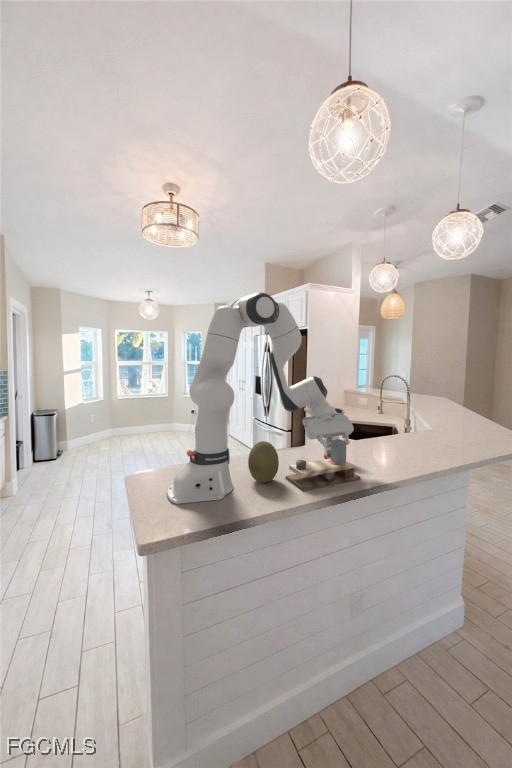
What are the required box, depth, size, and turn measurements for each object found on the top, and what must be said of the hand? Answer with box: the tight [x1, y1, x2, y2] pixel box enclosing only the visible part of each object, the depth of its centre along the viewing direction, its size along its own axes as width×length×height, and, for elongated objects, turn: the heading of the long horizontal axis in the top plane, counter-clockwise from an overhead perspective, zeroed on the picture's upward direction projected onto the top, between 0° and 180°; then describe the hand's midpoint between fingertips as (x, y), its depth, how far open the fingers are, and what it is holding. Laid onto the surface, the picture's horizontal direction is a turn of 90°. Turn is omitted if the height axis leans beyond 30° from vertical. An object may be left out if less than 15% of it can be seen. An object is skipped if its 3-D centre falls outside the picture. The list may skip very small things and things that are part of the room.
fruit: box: [247, 440, 280, 484], centre depth 117 cm, size 11×11×15 cm
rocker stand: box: [285, 467, 361, 492], centre depth 119 cm, size 25×12×4 cm, turn 112°
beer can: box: [323, 436, 340, 460], centre depth 140 cm, size 6×6×16 cm
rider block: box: [331, 438, 347, 464], centre depth 121 cm, size 4×4×8 cm
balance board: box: [288, 458, 354, 478], centre depth 118 cm, size 22×9×4 cm, turn 112°
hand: (337, 445), depth 121 cm, fingers open, 8 cm apart
